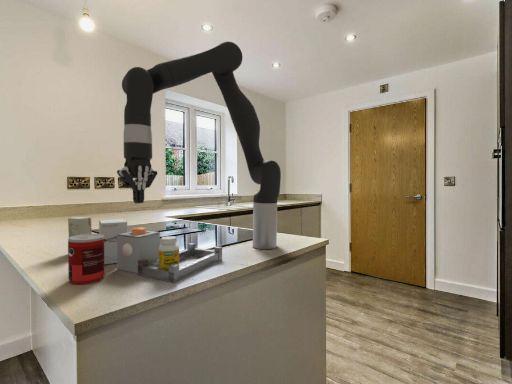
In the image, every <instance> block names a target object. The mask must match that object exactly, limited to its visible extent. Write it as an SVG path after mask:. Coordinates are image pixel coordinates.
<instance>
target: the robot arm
mask: <svg viewBox="0 0 512 384" xmlns="http://www.w3.org/2000/svg"><path fill="white" fill-rule="evenodd" d="M242 63H243V52H242V50H241V48H240V47H239V46H238V44H236V43H235V42H233V41H223V42H221V43H219V44H218V45H216V46H214V47H212V48H211V49H210V48H209V49H208V50H205V51H202V52H199V53H196V54H192V55H189V56H185V57H181V58H176V59H172V60H169V61H165V62H161V63H157V64H155V65H154V66H153V67H151V68H149V69H145V68H144V67H141V66H134V67H132V68H130V69H129V70H128V71H127V73H126V74H125V75H124V76H123V78H122V81H121V88H122V91H123V93H124V94H125V95H126V104H125V105H124V110H123V112H124V113H123V115H124V116H123V117H124V118H123V122H124V123H123V158H124V159H125V160H124V163H123V164H124V165H123V168H121V169H117V170H116V173H117V175H118V176H119V178H120V180H121V181H122V183H123V184H124V186H125V187H126V188H127V189H130V190H131V191H132V201H133V202H134V204H143V203H144V201H145V190H146V189H147V188H150V187H151V186H152V185H153V182H154V181H155V179H156V177H157V176H158V171H157V170H154V169H153V168H152V164H151V160H152V159H153V133H152V116H151V114H152V113H151V109H152V104H153V96H154V94H155V93H158V92H160V91H162V90H163V91H164V90H166V89H169V88H175V87H178V86H180V85H184V84H186V83H190V82H191V81H193V80H196V79H198V78H200V77H202V76H205V75H208V74H210V73H212V76H213V78H214V81H215V82H216V84H217V86H218V89H219V91H220V92H221V95H222V98H223V101H224V103H225V105H226V106H225V107H226V108H227V110H228V113H229V116H230V119H231V121H232V124H233V128H234V130H235V132H236V134H237V137H238V140H239V144H240V146H241V148H242V152H243V154H244V158H245V161H246V166H247V169H248V173H249V176H250V178H251V181H253V182H254V183H255V184H257V185H260V186H259V187H260V188H259V190H258V192H257V193H255V194H254V195H253V197H252V198H253V207H252V210H253V211H252V216H253V217H252V247H253V248H254V249H260V250H272V249H277V235H278V233H277V232H278V230H277V229H278V227H277V226H278V198H279V196H280V190H281V178H282V177H281V176H282V175H281V173H282V172H281V167H280V165H279V163H278V162H276V161H275V160H269V159H267V160H265V159H264V157H263V155H262V151H261V148H260V137H261V135H260V134H261V125H260V120H259V117H258V114H257V111H256V109H255V106H254V105H253V104H252V102H251V101H250V100H249V98H248V97H247V96H246V95H245V94H244V93H243V92H242V90H241V89H240V87H239V86H238V83H237V80H236V78H235V77H236V76H235V74H234V72H235V71H236V70H238V69H239V68H240V67H241V65H242Z"/></svg>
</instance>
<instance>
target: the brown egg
mask: <svg viewBox="0 0 512 384" xmlns="http://www.w3.org/2000/svg"><path fill="white" fill-rule="evenodd" d="M146 231H147V228H146V227H133V228H131V231H130V232H131V234H132V235H142V234H146Z"/></svg>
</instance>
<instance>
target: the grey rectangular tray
mask: <svg viewBox="0 0 512 384" xmlns="http://www.w3.org/2000/svg"><path fill="white" fill-rule="evenodd" d="M191 257H196V258H198V259H196V260H193V261H191V262H189V263H187V264H186V263H185V264H184V265H182V266H180V264H179V265H176V264H172V265H170V266H169V269H164V268H159V259H157V260H154V261H151V262H148V259H140V260H138V273H137V276H141V277H145V278H149V279H155V280H158V281H165V282H170V283H177V282H178V281H180V280H183V279H184V278H186V277H189V276H190V275H192V274H194V273H197V272H198V271H200V270H202V269H205V268H206V267H209V266H211V265H213V264H214V263H217V262H218V261H219V262H220V261H222V259H223V246H215V247H214V248H213V249H208V248H200V247H196V242H195V243H193V242H190V243H187V248H186V249H183V250H179V262H181V261H184V260H187V259H189V258H191Z"/></svg>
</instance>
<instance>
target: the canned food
mask: <svg viewBox="0 0 512 384" xmlns="http://www.w3.org/2000/svg"><path fill="white" fill-rule="evenodd" d="M67 239H68V240H67V254H68V256H67V260H68V261H67V263H68V281H69V283H70V284H71V285H72V284H73V285H77V286H78V285H79V286H80V285H89V284H93V283H97V282H100V281H101V280H103V279H104V277H105V264H104V235H101V234H99V233H92V234H82V235H75V236H71V237H69V236H68V238H67Z"/></svg>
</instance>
